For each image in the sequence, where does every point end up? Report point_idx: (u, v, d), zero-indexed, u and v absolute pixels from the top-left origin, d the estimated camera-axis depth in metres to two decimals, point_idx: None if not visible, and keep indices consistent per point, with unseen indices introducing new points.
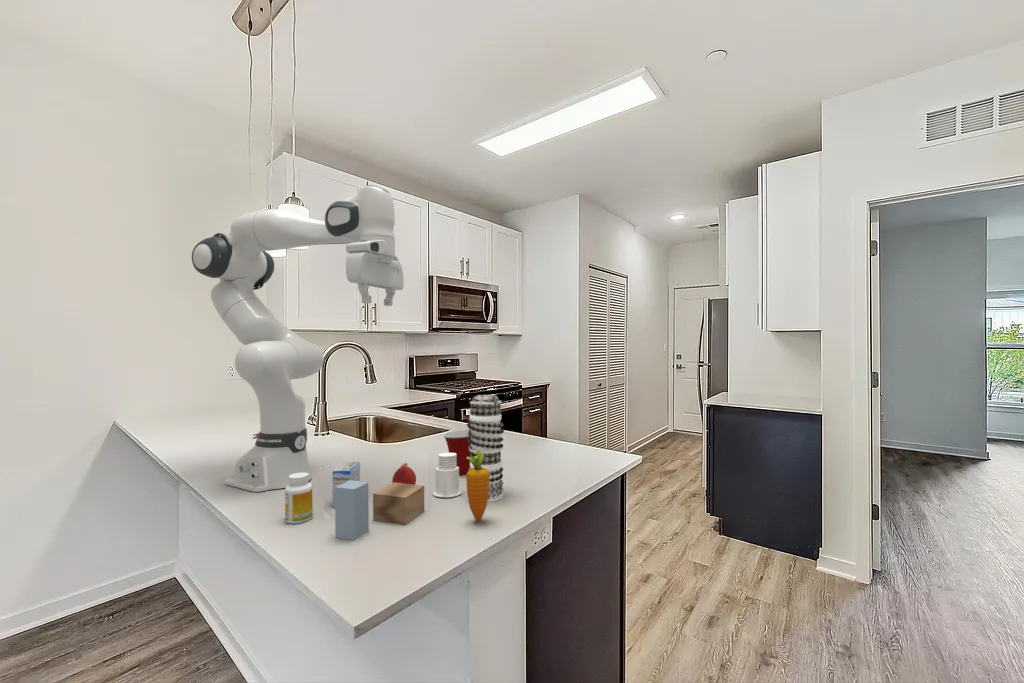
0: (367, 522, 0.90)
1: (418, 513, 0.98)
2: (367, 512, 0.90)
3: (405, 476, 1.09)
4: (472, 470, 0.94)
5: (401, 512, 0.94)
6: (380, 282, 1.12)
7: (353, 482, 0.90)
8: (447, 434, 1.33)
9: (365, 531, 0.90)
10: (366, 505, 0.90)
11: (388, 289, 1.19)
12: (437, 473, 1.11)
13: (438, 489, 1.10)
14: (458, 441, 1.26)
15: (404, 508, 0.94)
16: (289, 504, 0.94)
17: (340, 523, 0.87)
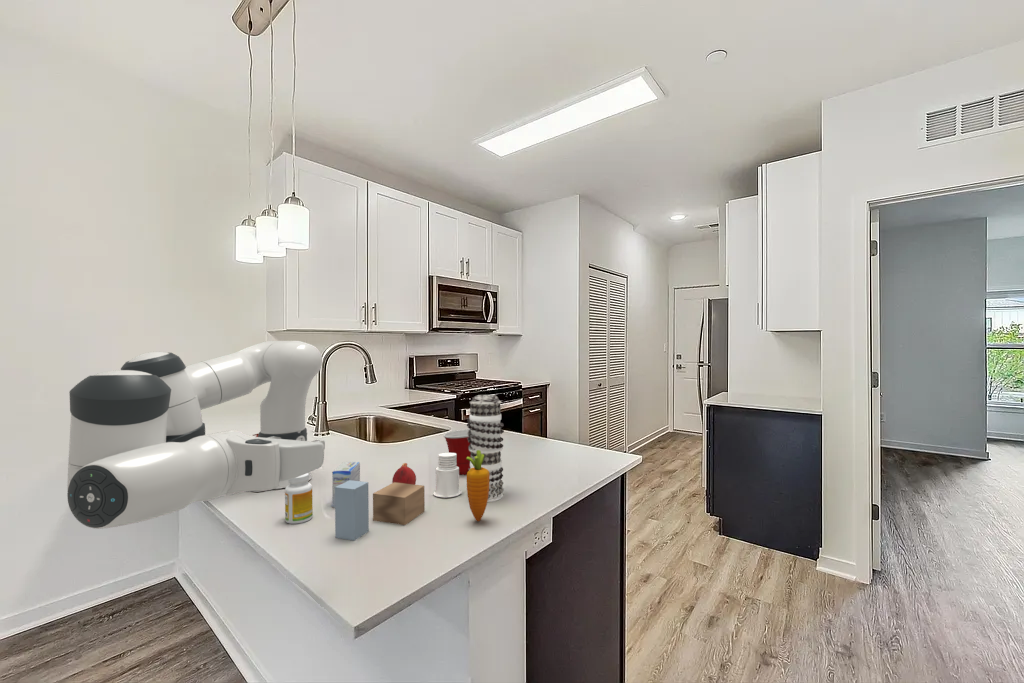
0: (367, 522, 0.90)
1: (418, 513, 0.98)
2: (367, 512, 0.90)
3: (405, 476, 1.09)
4: (473, 470, 0.94)
5: (401, 512, 0.94)
6: (278, 439, 0.71)
7: (353, 482, 0.91)
8: (447, 434, 1.33)
9: (365, 531, 0.90)
10: (366, 505, 0.90)
11: None
12: (437, 473, 1.11)
13: (438, 489, 1.10)
14: (458, 441, 1.26)
15: (403, 508, 0.93)
16: (289, 504, 0.94)
17: (340, 523, 0.87)
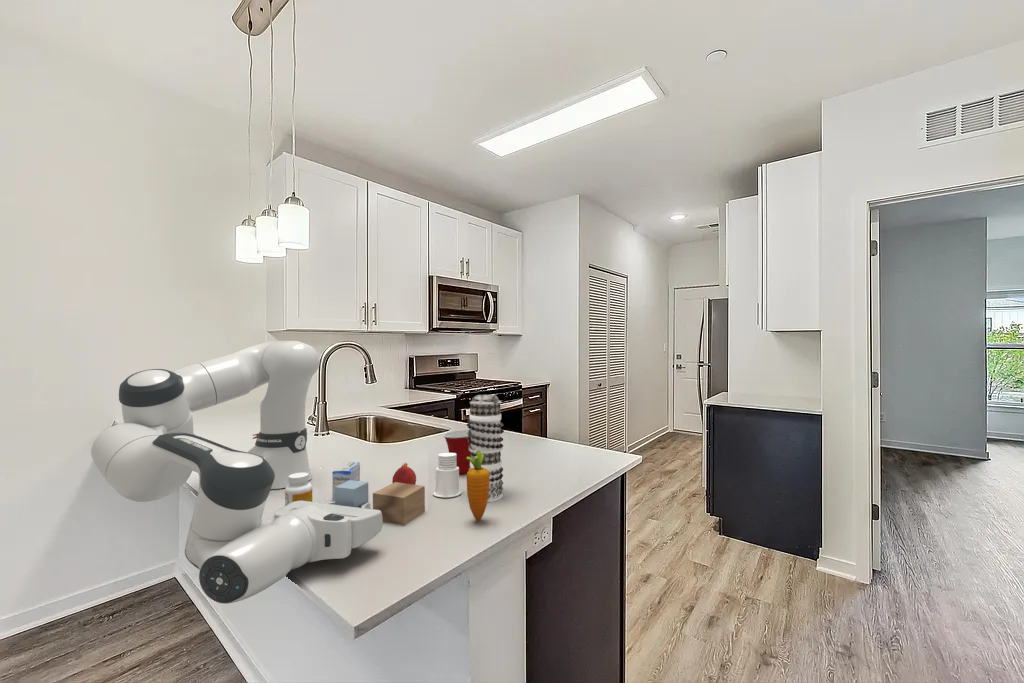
0: None
1: (418, 514, 0.98)
2: None
3: (405, 476, 1.09)
4: (472, 470, 0.94)
5: (400, 512, 0.94)
6: (341, 506, 0.84)
7: (353, 482, 0.91)
8: (447, 434, 1.33)
9: None
10: None
11: None
12: (437, 473, 1.11)
13: (438, 489, 1.10)
14: (457, 441, 1.26)
15: (402, 508, 0.93)
16: None
17: None
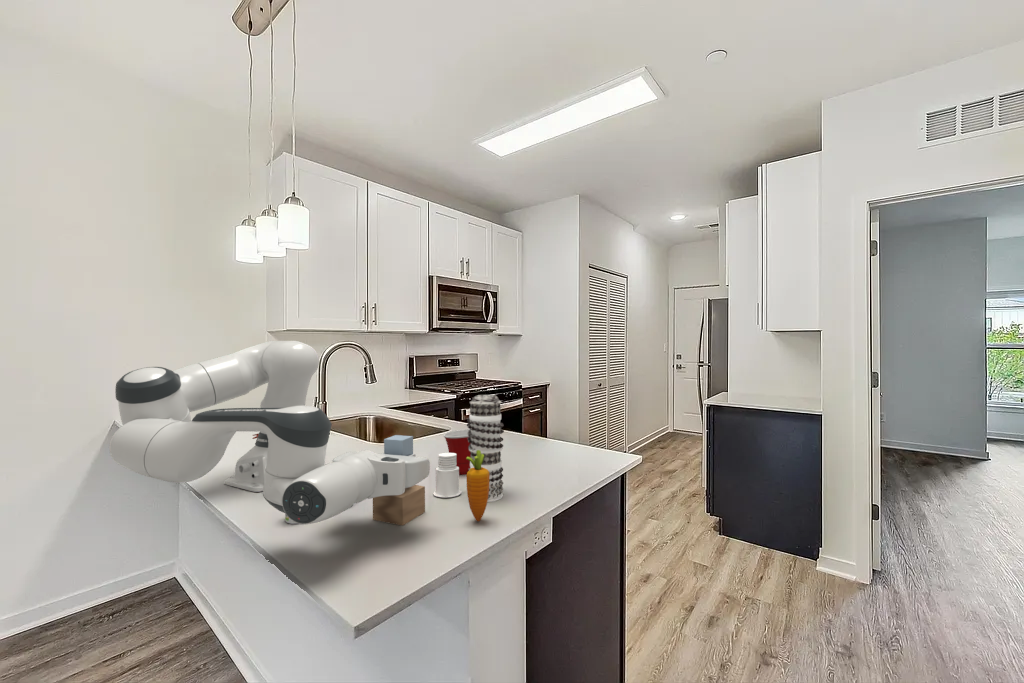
0: None
1: (417, 514, 0.98)
2: None
3: None
4: (472, 470, 0.94)
5: (398, 513, 0.94)
6: (392, 455, 0.94)
7: (399, 436, 1.00)
8: (447, 434, 1.33)
9: None
10: None
11: None
12: (437, 473, 1.11)
13: (438, 489, 1.10)
14: (457, 441, 1.26)
15: (401, 508, 0.93)
16: None
17: None
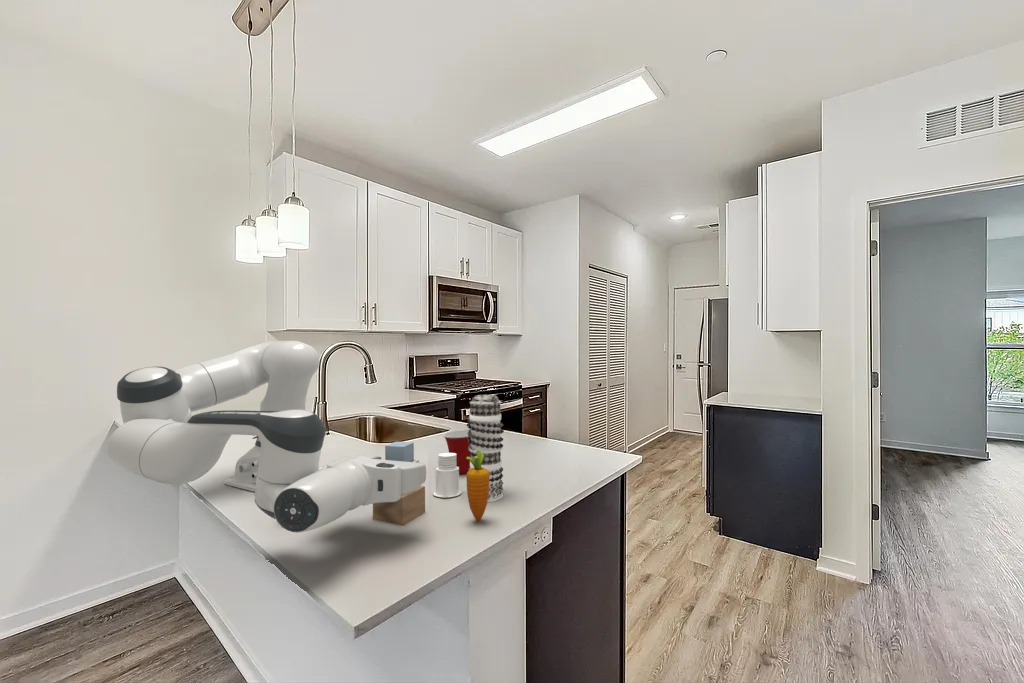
0: None
1: (417, 514, 0.98)
2: None
3: None
4: (472, 470, 0.94)
5: (398, 513, 0.94)
6: (387, 460, 0.92)
7: (400, 442, 1.00)
8: (447, 434, 1.33)
9: None
10: None
11: None
12: (437, 473, 1.11)
13: (438, 489, 1.10)
14: (458, 441, 1.26)
15: (401, 508, 0.93)
16: None
17: None
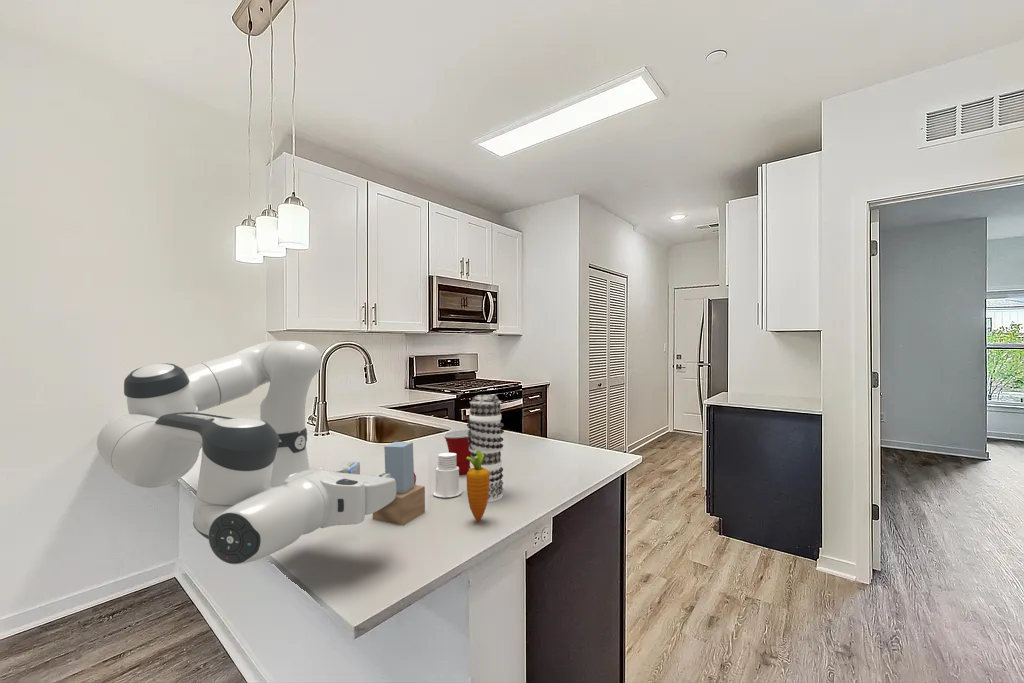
0: (413, 478, 1.00)
1: (417, 514, 0.98)
2: (413, 469, 1.00)
3: None
4: (473, 470, 0.94)
5: (398, 512, 0.94)
6: (354, 474, 0.82)
7: (399, 443, 1.00)
8: (447, 434, 1.33)
9: (412, 486, 0.99)
10: (412, 463, 0.99)
11: None
12: (437, 473, 1.11)
13: (438, 489, 1.10)
14: (457, 441, 1.26)
15: (401, 508, 0.93)
16: None
17: None
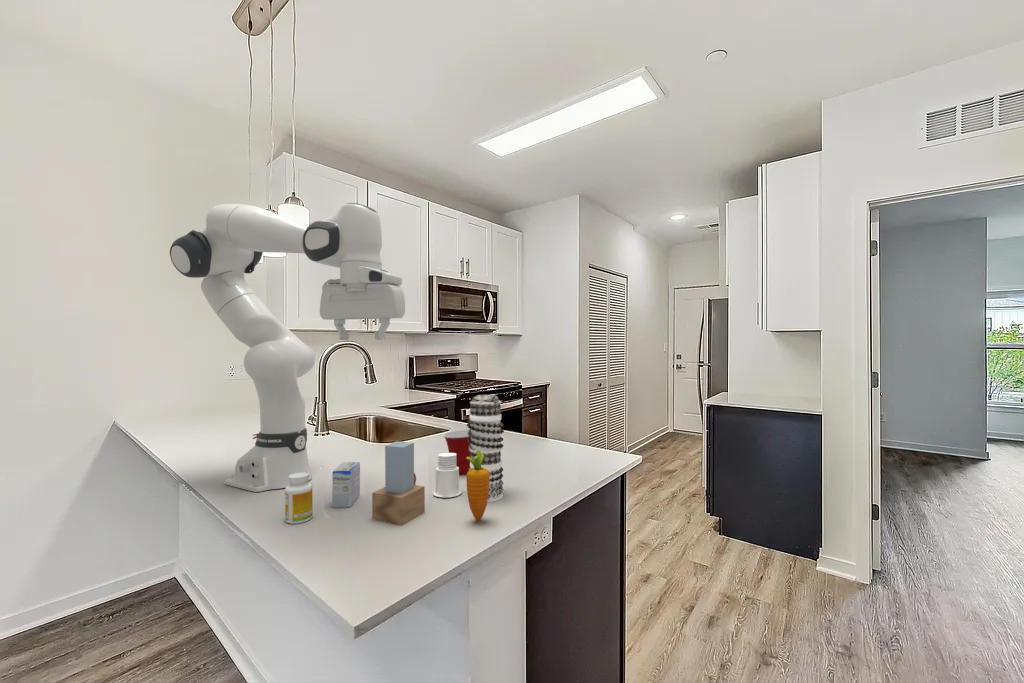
0: (413, 479, 1.00)
1: (417, 514, 0.98)
2: (413, 470, 1.00)
3: None
4: (472, 470, 0.94)
5: (397, 512, 0.94)
6: None
7: (400, 442, 1.00)
8: (447, 434, 1.33)
9: (411, 486, 0.99)
10: (412, 463, 0.99)
11: (341, 320, 1.00)
12: (437, 473, 1.11)
13: (438, 489, 1.10)
14: (458, 441, 1.26)
15: (400, 508, 0.93)
16: (289, 504, 0.94)
17: (390, 478, 0.97)
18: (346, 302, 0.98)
